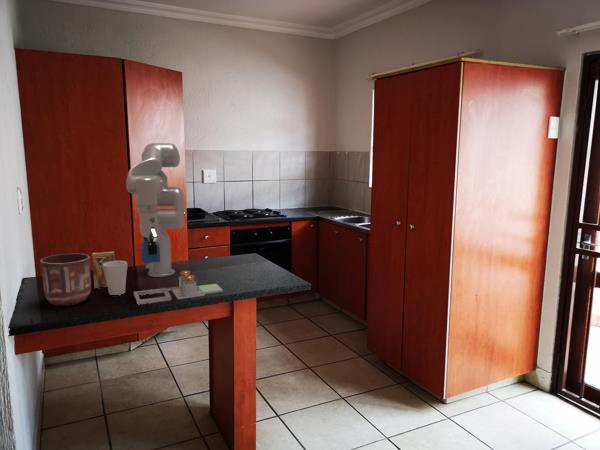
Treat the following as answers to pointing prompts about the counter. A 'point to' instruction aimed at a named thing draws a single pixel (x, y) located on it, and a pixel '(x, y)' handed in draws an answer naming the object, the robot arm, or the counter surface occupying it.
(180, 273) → the plunger
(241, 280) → the counter surface
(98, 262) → the candy box
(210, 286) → the mat
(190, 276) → the plunger
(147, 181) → the robot arm
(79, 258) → the pottery
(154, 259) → the perfume bottle
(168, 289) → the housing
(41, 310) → the counter surface
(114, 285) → the foam cup
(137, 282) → the counter surface
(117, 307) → the counter surface
